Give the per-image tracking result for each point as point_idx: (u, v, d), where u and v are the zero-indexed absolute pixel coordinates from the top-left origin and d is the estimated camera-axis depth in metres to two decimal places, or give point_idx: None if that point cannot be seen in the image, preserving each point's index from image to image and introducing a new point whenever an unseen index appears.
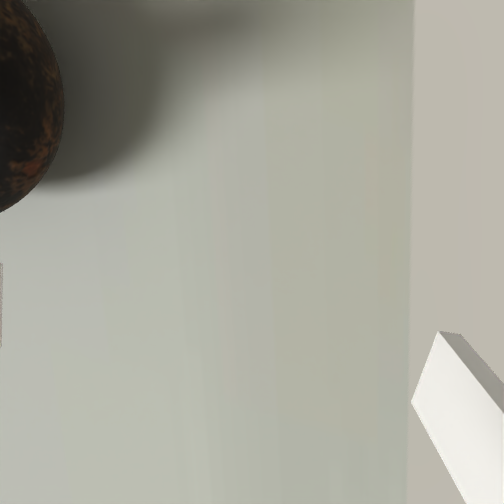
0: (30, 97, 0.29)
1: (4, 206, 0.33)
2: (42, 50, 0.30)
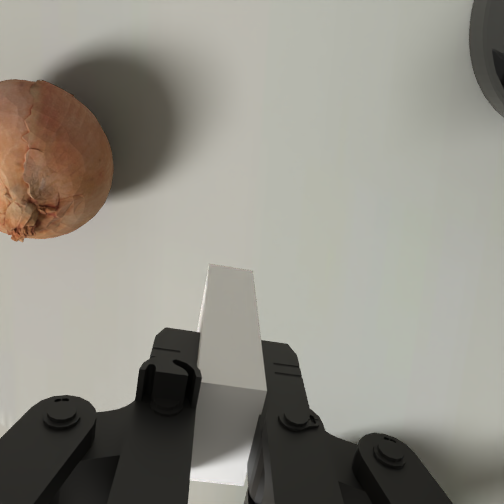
0: None
1: None
2: None
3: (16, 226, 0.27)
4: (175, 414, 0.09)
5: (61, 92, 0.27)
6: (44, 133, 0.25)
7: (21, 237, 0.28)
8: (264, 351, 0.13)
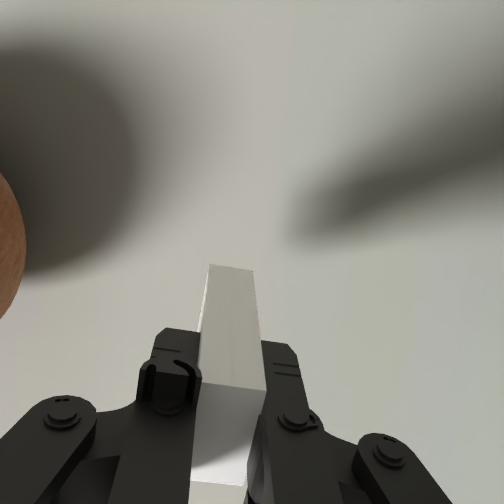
0: None
1: None
2: None
3: None
4: (176, 414, 0.09)
5: None
6: None
7: None
8: (264, 351, 0.13)
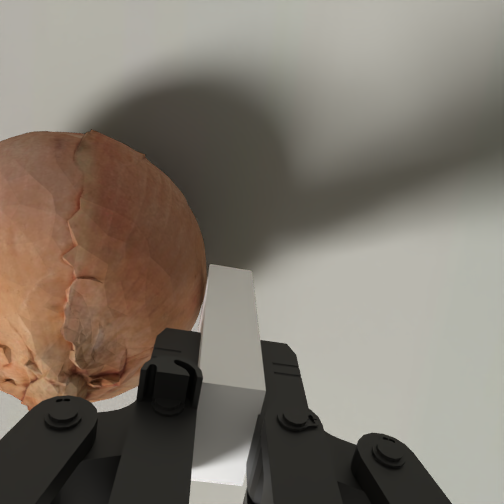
0: None
1: None
2: None
3: None
4: (176, 414, 0.09)
5: (129, 155, 0.15)
6: (104, 245, 0.13)
7: None
8: (263, 351, 0.13)
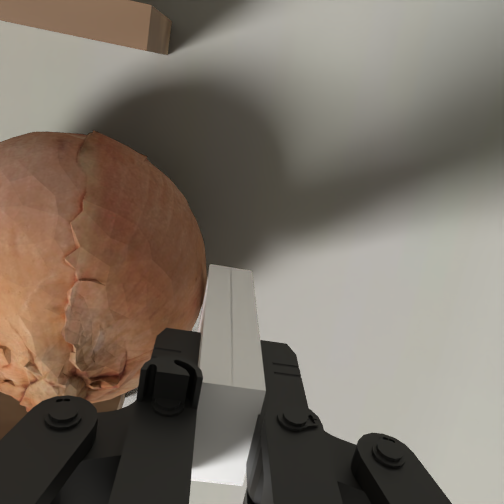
0: None
1: None
2: None
3: None
4: (176, 414, 0.09)
5: (131, 157, 0.15)
6: (106, 247, 0.13)
7: None
8: (263, 351, 0.13)
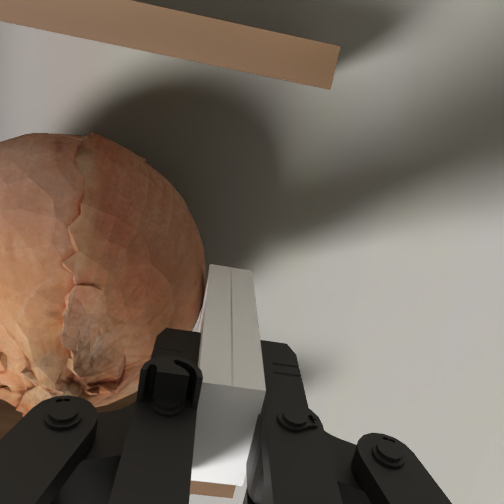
0: None
1: None
2: None
3: None
4: (176, 414, 0.09)
5: (130, 159, 0.15)
6: (105, 251, 0.13)
7: None
8: (263, 351, 0.13)
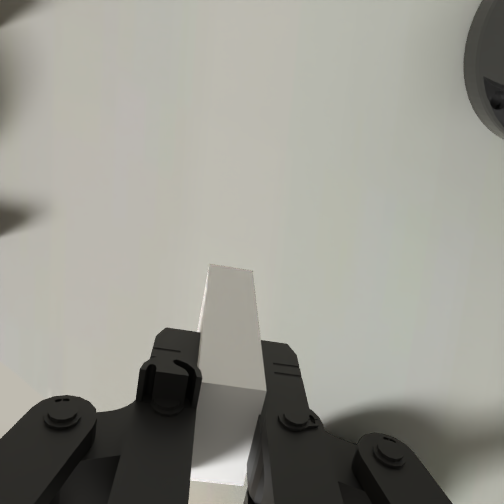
0: None
1: None
2: None
3: None
4: (175, 414, 0.09)
5: None
6: None
7: None
8: (264, 351, 0.13)
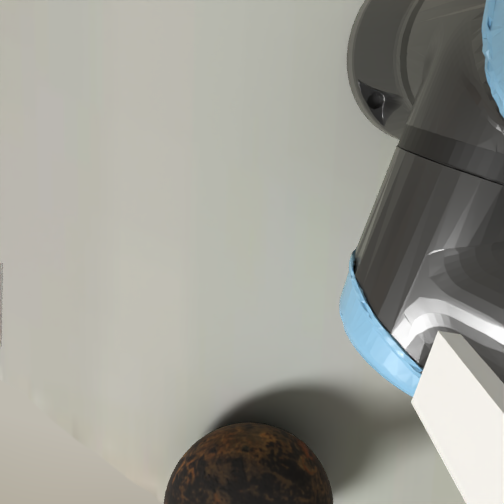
0: None
1: None
2: (331, 491, 0.50)
3: None
4: None
5: None
6: None
7: None
8: None
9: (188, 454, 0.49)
